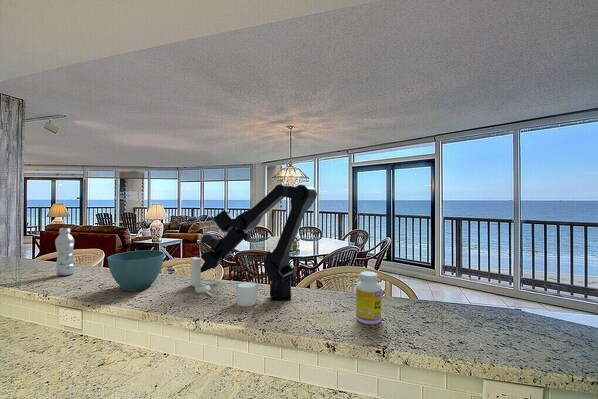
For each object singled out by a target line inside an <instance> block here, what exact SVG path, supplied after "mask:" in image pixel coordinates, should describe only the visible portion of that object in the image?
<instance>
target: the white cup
mask: <svg viewBox="0 0 598 399" xmlns="http://www.w3.org/2000/svg"><path fill="white" fill-rule="evenodd" d="M258 290H259V284H258V283H257V282H254V281H243V282H238V283H236V284H235V295H236V296H235V297H236V304H237V306H241V307H251V306H255V307H254V309H257V302H258V295H259V294H258Z"/></svg>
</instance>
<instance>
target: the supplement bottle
mask: <svg viewBox="0 0 598 399" xmlns="http://www.w3.org/2000/svg"><path fill="white" fill-rule="evenodd" d="M359 273H360V274H359V278H360V281H358V282H357V283H356V292H355V293H356V298H355V299H356V300H355V304H356V305H355V309H356V310H355V318H356V320H357V321H358V322H359V323H362V324H365V325H376V324H379V323H380V322H381V319H382V286H381V284H380V283H379V282H378V281H377V280H378V279H379V278H378V277H379V276H378V273H377V272H373V271H362V272H361V271H360V272H359Z"/></svg>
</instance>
